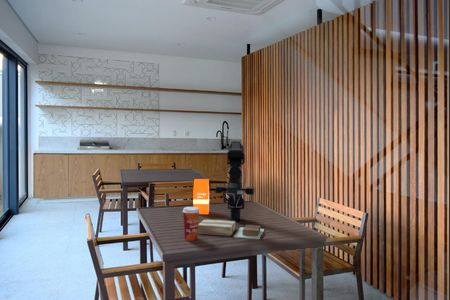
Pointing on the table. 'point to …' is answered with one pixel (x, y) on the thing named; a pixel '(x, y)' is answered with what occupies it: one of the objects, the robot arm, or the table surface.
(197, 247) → the table surface
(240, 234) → the sage mat
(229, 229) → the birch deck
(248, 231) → the walnut block
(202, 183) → the orange juice
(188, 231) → the paper cup
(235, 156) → the robot arm
